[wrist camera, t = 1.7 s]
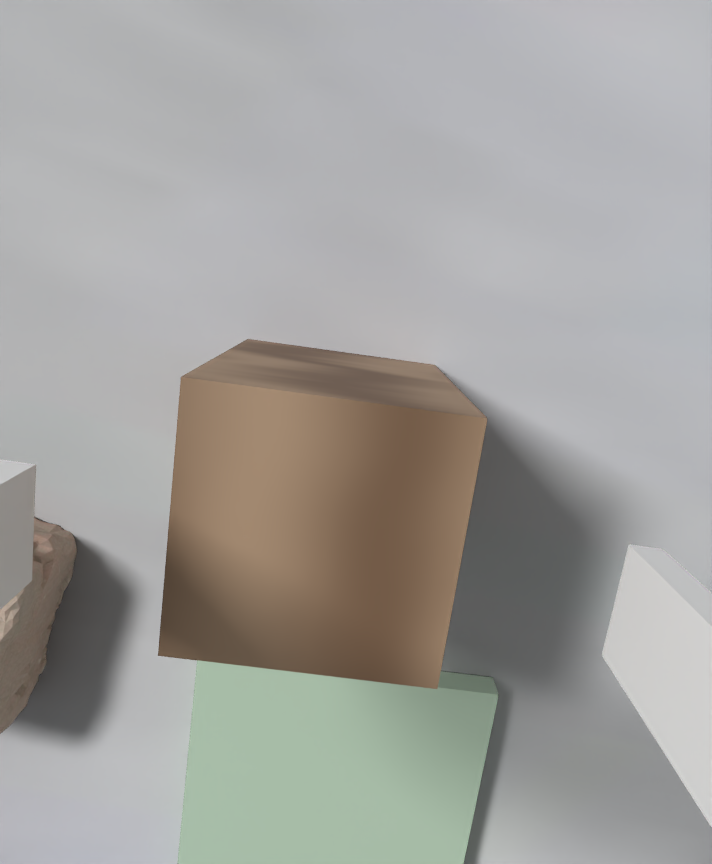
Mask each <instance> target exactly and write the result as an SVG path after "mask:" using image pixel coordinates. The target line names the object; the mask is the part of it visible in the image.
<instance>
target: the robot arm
mask: <svg viewBox="0 0 712 864" xmlns="http://www.w3.org/2000/svg"><path fill="white" fill-rule="evenodd" d="M35 477H36V464H30V463H23V462H15V461H8V460H0V610H1V609H2V608H3V607H4V606H5V605H6V604H7V603H8V602H9V601H10V600H11V599H12V598H14V597H15V596H16V595H17V594H18V593H19V592H20V591H21V590H22V589H23V588H24V587H26V586H27V585H28V584H29V583H30V582H31V581H32V565H33V536H34V506H35ZM602 657H603V658H604V660H605V661H606V663H607V664H608V666H609V668H610V669H611V671H612V672H613V674H614V675H615V677H616V678H617V680H618V682H619V683H620V685H621V686H622V688H623V689H624V691H625V693H626V694H627V696H628V697H629V699H630V700H631V702H632V704H633V705H634V707H635V708H636V710H637V711H638V713H639V715H640V716H641V718H642V719H643V721H644V722H645V724H646V726H647V727H648V729H649V730H650V732H651V733H652V735H653V736H654V738H655V740H656V741H657V743H658V744H659V746H660V747H661V749H662V751H663V752H664V754H665V755H666V757H667V758H668V760H669V762H670V763H671V765H672V766H673V768H674V769H675V771H676V773H677V774H678V776H679V777H680V779H681V780H682V782H683V784H684V785H685V787H686V788H687V790H688V791H689V793H690V795H691V796H692V798H693V799H694V801H695V802H696V804H697V805H698V807H699V809H700V810H701V812H702V813H703V815H704V816H705V818H706V820H707V821H708V823H709V824H710V826H711V827H712V593H711V592H710V591H709V590H708V589H707V588H706V587H705V586H704V585H702V584H701V583H700V582H699V581H698V580H697V579H696V578H695V577H694V576H692V575H691V574H690V573H689V572H688V571H687V570H686V569H685V568H684V567H682V566H681V565H680V564H679V563H678V562H677V561H676V560H675V559H673V558H672V557H671V556H670V555H669V554H668V553H667V552H666V551H665V550H663V549H660V548H653V547H645V546H638V545H631V544H629V546H628V550H627V554H626V558H625V562H624V566H623V570H622V574H621V578H620V582H619V587H618V591H617V595H616V599H615V603H614V607H613V611H612V615H611V619H610V623H609V627H608V631H607V635H606V640H605V644H604V648H603V652H602Z"/></svg>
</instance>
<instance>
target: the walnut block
mask: <svg viewBox="0 0 712 864" xmlns="http://www.w3.org/2000/svg"><path fill="white" fill-rule="evenodd" d="M486 424H487V417H486V416H485V415H484V414H483V413H482V412H481V411H480V410H479V409H478V408H477V407H476V406H475V405H474V404H473V403H472V402H471V401H470V400H469V399H468V398H467V397H466V396H465V395H464V394H463V393H462V392H461V391H460V390H459V389H458V388H457V387H456V386H455V385H454V384H453V383H452V382H451V381H450V380H449V379H448V378H447V377H446V376H445V375H444V374H443V373H442V372H441V371H440V370H439V369H438V368H437V367H436V366H435V365H431V364H424V363H417V362H410V361H402V360H395V359H388V358H381V357H374V356H366V355H359V354H352V353H345V352H337V351H330V350H323V349H316V348H309V347H301V346H294V345H287V344H280V343H272V342H265V341H258V340H251V339H247V340H245V341H244V342H242V343H240V344H238V345H236V346H235V347H233V348H231V349H229V350H228V351H226V352H224V353H222V354H221V355H219V356H217V357H215V358H214V359H212V360H210V361H208V362H206V363H205V364H203V365H201V366H199V367H198V368H196V369H194V370H192V371H191V372H189V373H187V374H185V375H184V376H182V377H181V384H180V396H179V408H178V420H177V433H176V445H175V457H174V469H173V481H172V493H171V505H170V517H169V529H168V542H167V554H166V566H165V578H164V590H163V602H162V614H161V626H160V638H159V651H158V656H166V657H174V658H182V659H190V660H199V661H207V662H215V663H224V664H232V665H240V666H249V667H257V668H265V669H274V670H282V671H290V672H298V673H307V674H315V675H323V676H332V677H340V678H348V679H357V680H365V681H373V682H381V683H390V684H398V685H406V686H415V687H423V688H431V689H437V688H438V683H439V678H440V672H441V667H442V661H443V656H444V651H445V645H446V640H447V634H448V629H449V624H450V618H451V613H452V607H453V602H454V597H455V591H456V586H457V580H458V575H459V570H460V564H461V559H462V553H463V548H464V543H465V537H466V532H467V526H468V521H469V516H470V510H471V505H472V499H473V494H474V489H475V483H476V478H477V472H478V467H479V462H480V456H481V451H482V445H483V440H484V435H485V429H486Z"/></svg>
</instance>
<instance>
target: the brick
mask: <svg viewBox="0 0 712 864" xmlns="http://www.w3.org/2000/svg"><path fill="white" fill-rule="evenodd" d="M76 554H77V548H76V543H75V539H74V537H73V535H72V533H70V532H68V531H66V530H63V529H62V528H61V527H60V526H58V525H55V524H50V523H46V522H43V521H40V520H38V519H36V518H35V517H34V536H33V565H32V581H31V582H30V583H29V584H28V585H27V586H26V587H24V588H23V589H22V590H21V591H20V592H19V593H18V594H17V595H16V596H15V597H14V598H12V599H11V600H10V601H9V602H8V603H7V604H6V605H5V606H4V607H3V608H2V609H1V610H0V734H1V733H2V732H3V731H4V730H5V729H6V728H7V727H9V726H10V725H11V724H12V723H13V721H14V720H15V719H16V717H17V716H18V715H19V713H20V712H21V711H22V710H23V709H24V708H25V706H26V705H27V702H28V699H29V696H30V694H31V693H32V691H33V689H34V687H35V685H36V683H37V682H38V679H39V674H42V672H43V670H44V668H45V665H46V661H47V660H46V652H47V648H46V645H47V643H48V641H49V635H50V632H51V630H52V628H51V627H52V624H53V622H54V620H55V613H56V609H58V608H59V605H60V604H61V601H62V597H63V592H64V591H65V589H66V588H67V586H68V584H69V582H70V580H71V577H72V575H73V565H74V561H75V557H76Z"/></svg>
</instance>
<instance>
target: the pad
mask: <svg viewBox="0 0 712 864" xmlns="http://www.w3.org/2000/svg"><path fill="white" fill-rule="evenodd" d="M498 696H499V694H498V691H497V688H496V686H495V683H494V680H493V677H485V676H477V675H468V674H460V673H452V672H444V671H441V672H440V678H439V683H438V688H437V689H431V688H423V687H415V686H406V685H398V684H390V683H381V682H373V681H365V680H357V679H348V678H340V677H332V676H323V675H315V674H307V673H298V672H290V671H282V670H274V669H265V668H257V667H249V666H240V665H232V664H224V663H215V662H207V661H199V660H197V667H196V678H195V688H194V698H193V709H192V719H191V729H190V740H189V750H188V760H187V771H186V781H185V791H184V802H183V812H182V822H181V832H180V843H179V853H178V863H177V864H464V859H465V854H466V849H467V845H468V840H469V835H470V830H471V825H472V821H473V816H474V811H475V806H476V801H477V797H478V792H479V787H480V782H481V778H482V773H483V768H484V763H485V758H486V754H487V749H488V744H489V739H490V735H491V730H492V725H493V720H494V715H495V711H496V706H497V701H498Z"/></svg>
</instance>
